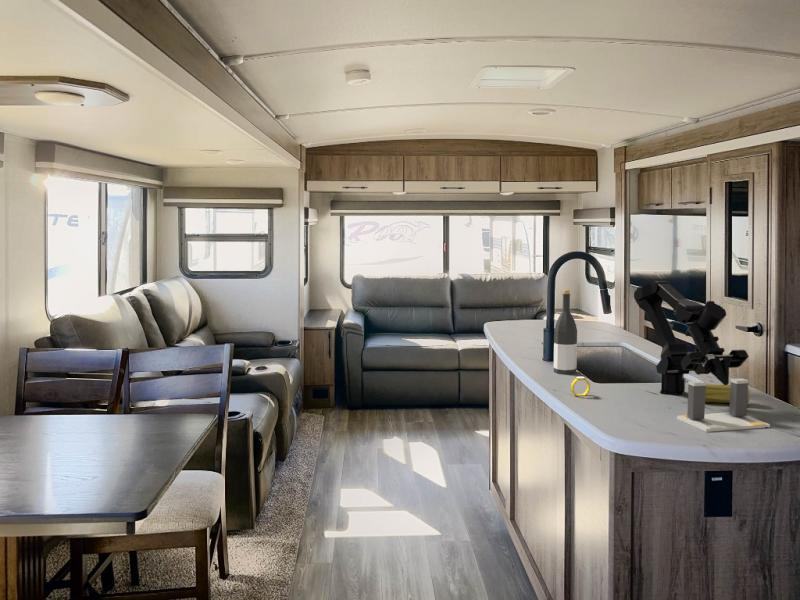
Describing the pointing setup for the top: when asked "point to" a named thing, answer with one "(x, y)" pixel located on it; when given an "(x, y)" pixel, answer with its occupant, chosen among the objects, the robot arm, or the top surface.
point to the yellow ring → (574, 384)
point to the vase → (719, 393)
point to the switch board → (723, 422)
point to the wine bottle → (565, 340)
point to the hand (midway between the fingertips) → (726, 384)
